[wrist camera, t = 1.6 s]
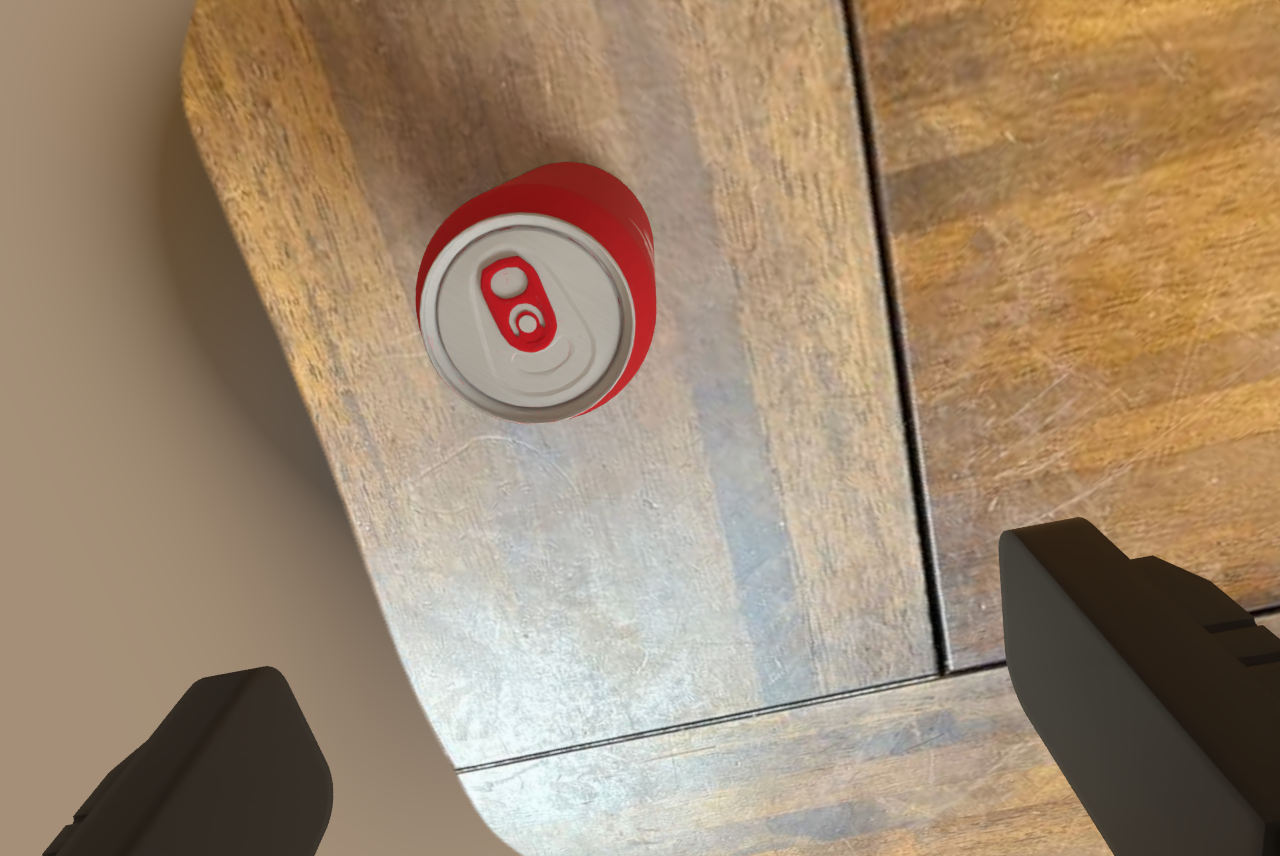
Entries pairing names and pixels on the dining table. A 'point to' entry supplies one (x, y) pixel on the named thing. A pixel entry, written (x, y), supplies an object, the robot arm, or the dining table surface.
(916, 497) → the dining table surface
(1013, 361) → the dining table surface
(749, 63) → the dining table surface
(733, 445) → the dining table surface
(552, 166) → the beverage can
